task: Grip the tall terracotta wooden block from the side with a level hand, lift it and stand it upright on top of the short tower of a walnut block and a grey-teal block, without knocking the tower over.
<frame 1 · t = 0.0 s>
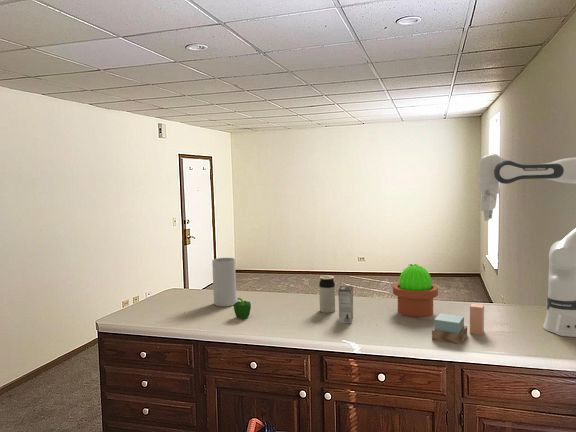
hand: (488, 219, 220), 48 cm above the worktop, tool pointing down, fingers open, 8 cm apart
terracotta tall block: (476, 332, 208), on the worktop
potted cactus: (415, 313, 238), on the worktop
bell pepper: (243, 318, 237), on the worktop
walnut base block: (449, 338, 202), on the worktop, touching grey-teal top block
travel mug: (327, 311, 245), on the worktop
coffee box: (346, 320, 229), on the worktop
cylinder vase: (225, 304, 263), on the worktop
grey-teal top block: (449, 328, 202), point 4 cm above the worktop, touching walnut base block
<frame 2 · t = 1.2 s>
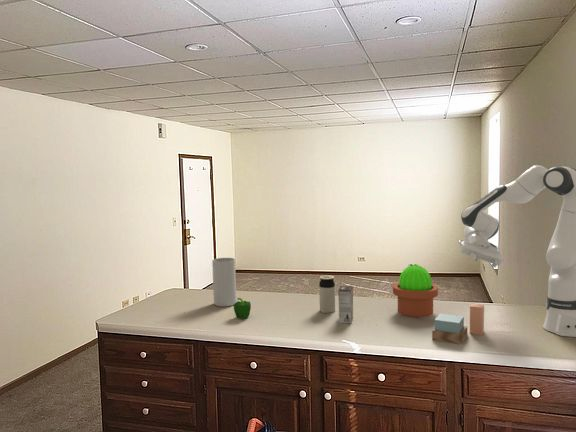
hand: (485, 262, 215), 29 cm above the worktop, tool tilted 65°, fingers open, 8 cm apart
walnut base block: (449, 338, 202), on the worktop
grey-teal top block: (449, 328, 202), point 4 cm above the worktop
everything else where it was.
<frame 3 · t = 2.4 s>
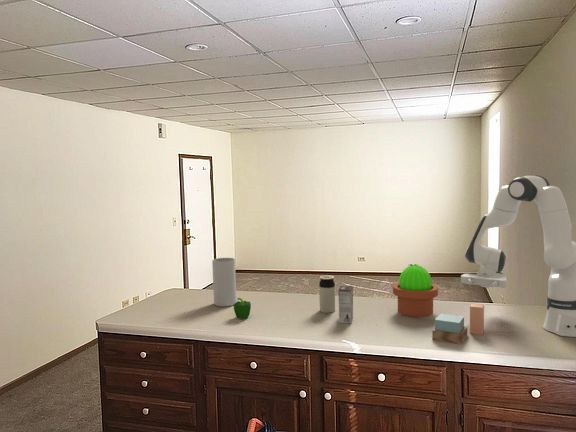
hand: (481, 284, 216), 19 cm above the worktop, tool horizontal, fingers open, 8 cm apart
walnut base block: (450, 338, 202), on the worktop, touching grey-teal top block
grey-teal top block: (449, 328, 202), point 4 cm above the worktop, touching walnut base block
everything else where it was.
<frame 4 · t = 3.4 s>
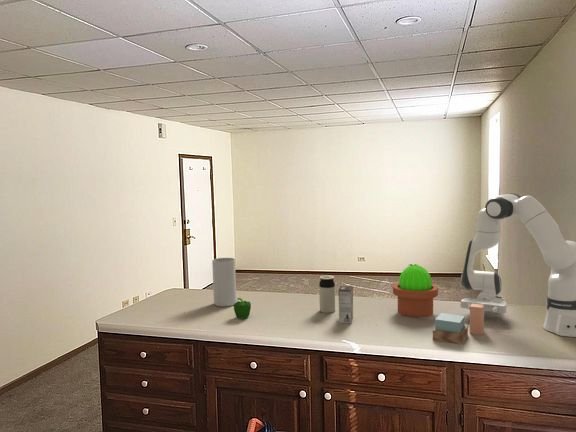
hand: (481, 309, 217), 7 cm above the worktop, tool horizontal, fingers open, 8 cm apart
nothing on the worktop moved.
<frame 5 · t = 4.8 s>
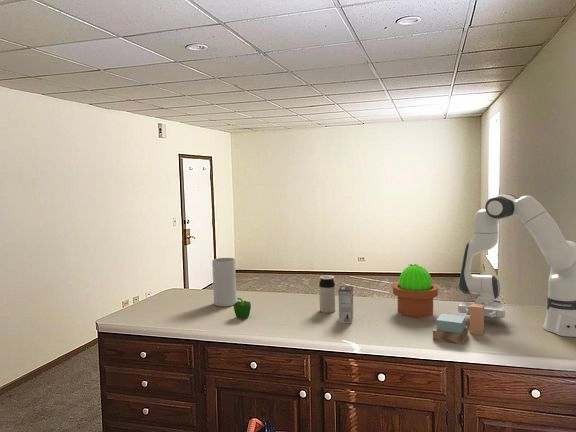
hand: (478, 314, 212), 6 cm above the worktop, tool horizontal, fingers open, 8 cm apart
nothing on the worktop moved.
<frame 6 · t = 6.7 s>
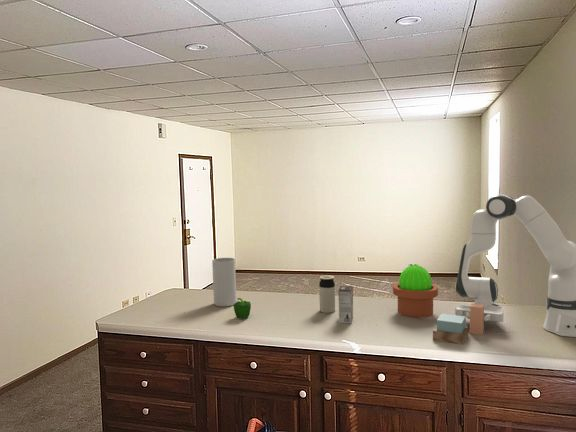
hand: (476, 318, 206), 7 cm above the worktop, tool horizontal, fingers closed on terracotta tall block, 5 cm apart
terracotta tall block: (476, 332, 208), on the worktop, touching gripper
walnut base block: (450, 338, 202), on the worktop
grey-teal top block: (451, 328, 201), point 4 cm above the worktop
everything else where it was.
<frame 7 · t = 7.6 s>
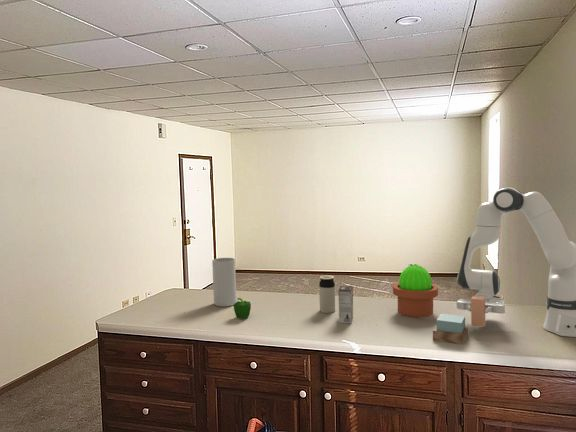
hand: (477, 310, 206), 10 cm above the worktop, tool horizontal, fingers closed on terracotta tall block, 5 cm apart
terracotta tall block: (478, 324, 207), point 4 cm above the worktop, touching gripper
walnut base block: (450, 338, 202), on the worktop, touching grey-teal top block
grey-teal top block: (450, 328, 201), point 4 cm above the worktop, touching walnut base block
everything else where it was.
when the fingers open (17 cm above the worktop, at t = 11.5 s): terracotta tall block drops 2 cm, resting on grey-teal top block.
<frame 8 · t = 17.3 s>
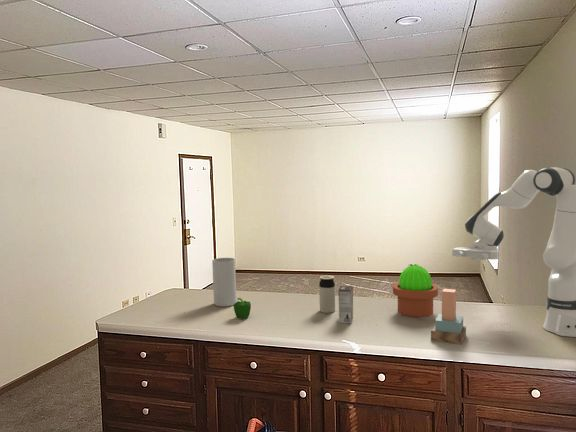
hand: (472, 255, 216), 32 cm above the worktop, tool horizontal, fingers open, 8 cm apart
terracotta tall block: (448, 318, 201), point 8 cm above the worktop, touching grey-teal top block
grey-teal top block: (449, 328, 201), point 4 cm above the worktop, touching terracotta tall block, walnut base block
everything else where it was.
at the end: terracotta tall block 0.5 cm off-centre on the grey-teal top block, point 4.6 cm above the grey-teal top block's base; terracotta tall block tilted 1°; grey-teal top block 0.3 cm off-centre on the walnut base block, point 4.5 cm above the walnut base block's base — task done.
